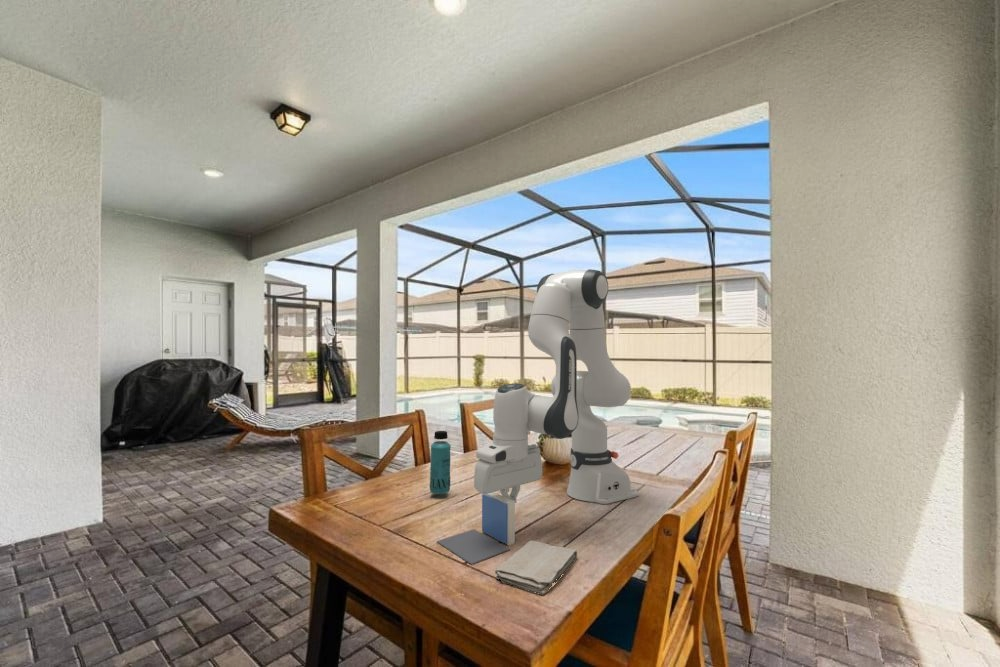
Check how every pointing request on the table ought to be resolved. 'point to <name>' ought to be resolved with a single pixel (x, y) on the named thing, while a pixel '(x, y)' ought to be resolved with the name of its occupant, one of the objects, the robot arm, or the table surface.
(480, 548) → the mat
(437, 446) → the beverage bottle
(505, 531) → the tile
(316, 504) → the table surface
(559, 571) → the washcloth
